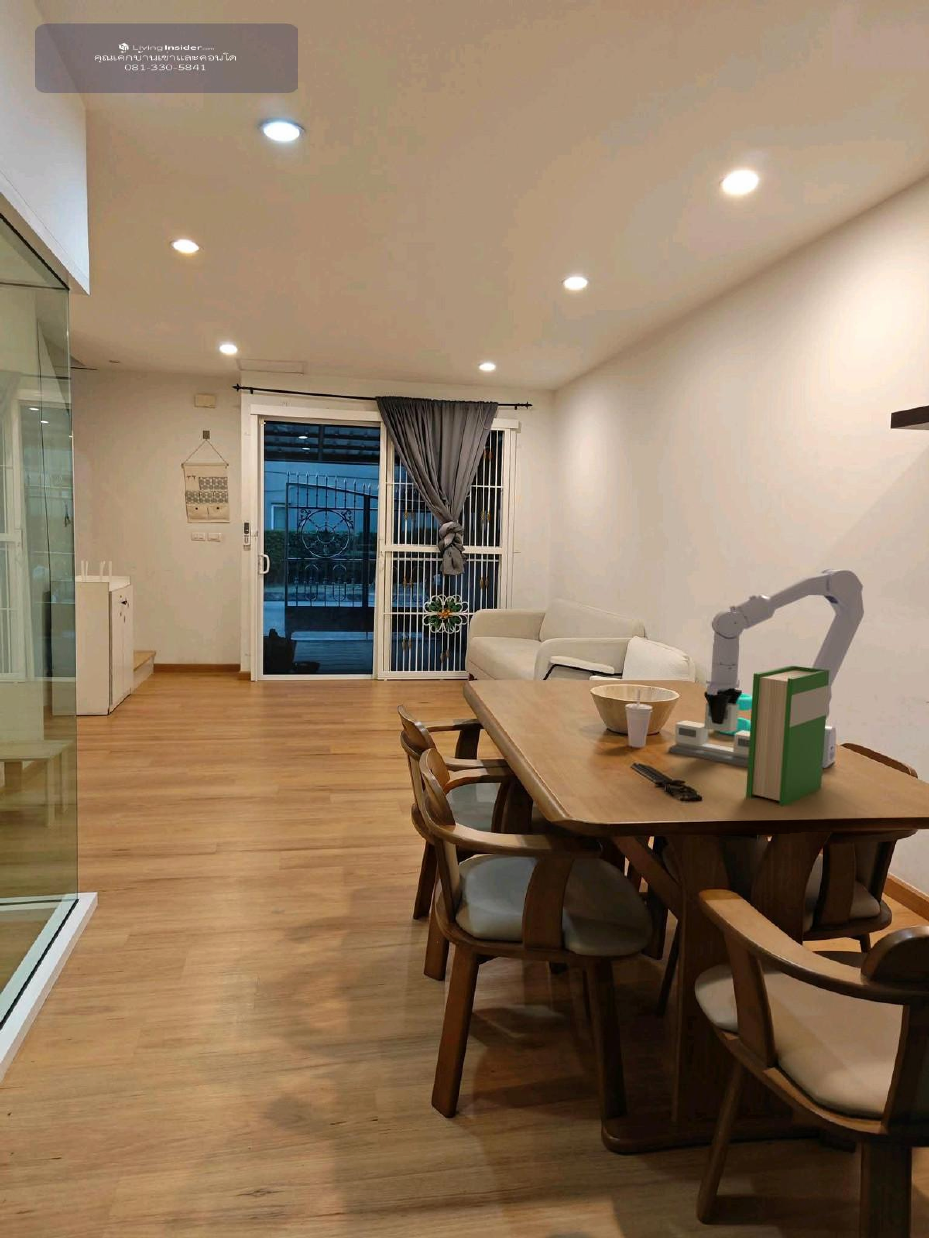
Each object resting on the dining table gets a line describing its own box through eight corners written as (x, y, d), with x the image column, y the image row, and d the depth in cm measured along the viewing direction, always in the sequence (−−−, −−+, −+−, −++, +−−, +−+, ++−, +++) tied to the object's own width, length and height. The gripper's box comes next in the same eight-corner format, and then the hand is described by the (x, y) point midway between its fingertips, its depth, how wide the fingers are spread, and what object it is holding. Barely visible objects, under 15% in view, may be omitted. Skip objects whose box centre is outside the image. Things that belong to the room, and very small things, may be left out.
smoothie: (620, 746, 182) (622, 688, 181) (627, 740, 187) (630, 684, 186) (646, 750, 179) (649, 691, 178) (653, 744, 184) (656, 687, 183)
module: (737, 730, 176) (738, 704, 175) (729, 732, 172) (731, 706, 172) (711, 725, 179) (713, 700, 179) (703, 728, 176) (705, 702, 175)
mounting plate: (771, 759, 174) (773, 732, 174) (754, 768, 166) (756, 740, 165) (688, 743, 187) (689, 718, 186) (668, 751, 178) (670, 725, 178)
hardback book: (784, 806, 141) (792, 679, 139) (745, 796, 146) (753, 673, 144) (820, 787, 153) (829, 670, 151) (784, 779, 159) (792, 665, 156)
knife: (626, 766, 167) (627, 759, 167) (654, 765, 168) (655, 759, 168) (673, 804, 142) (673, 796, 142) (706, 803, 143) (706, 796, 143)
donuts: (765, 696, 198) (741, 700, 192) (763, 734, 199) (738, 738, 193) (733, 690, 206) (709, 693, 201) (731, 726, 207) (706, 730, 202)
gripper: (719, 658, 182) (716, 714, 184) (695, 664, 171) (692, 723, 173) (749, 662, 178) (745, 719, 179) (726, 668, 167) (722, 728, 168)
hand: (721, 721), depth 176 cm, fingers closed on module, 5 cm apart
